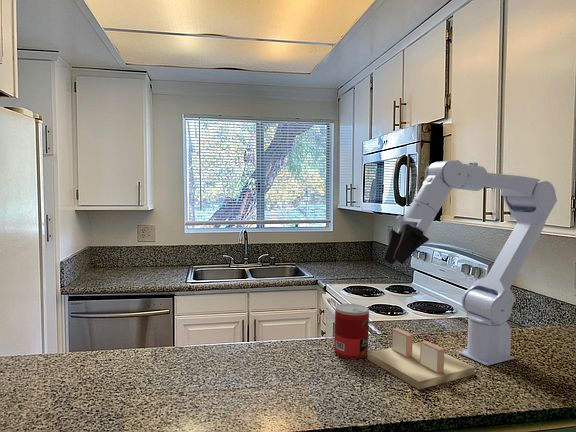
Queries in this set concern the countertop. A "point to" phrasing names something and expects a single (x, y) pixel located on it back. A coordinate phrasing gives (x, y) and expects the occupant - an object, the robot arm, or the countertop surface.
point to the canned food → (351, 331)
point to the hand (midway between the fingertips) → (392, 261)
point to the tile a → (402, 342)
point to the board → (419, 367)
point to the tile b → (432, 357)
